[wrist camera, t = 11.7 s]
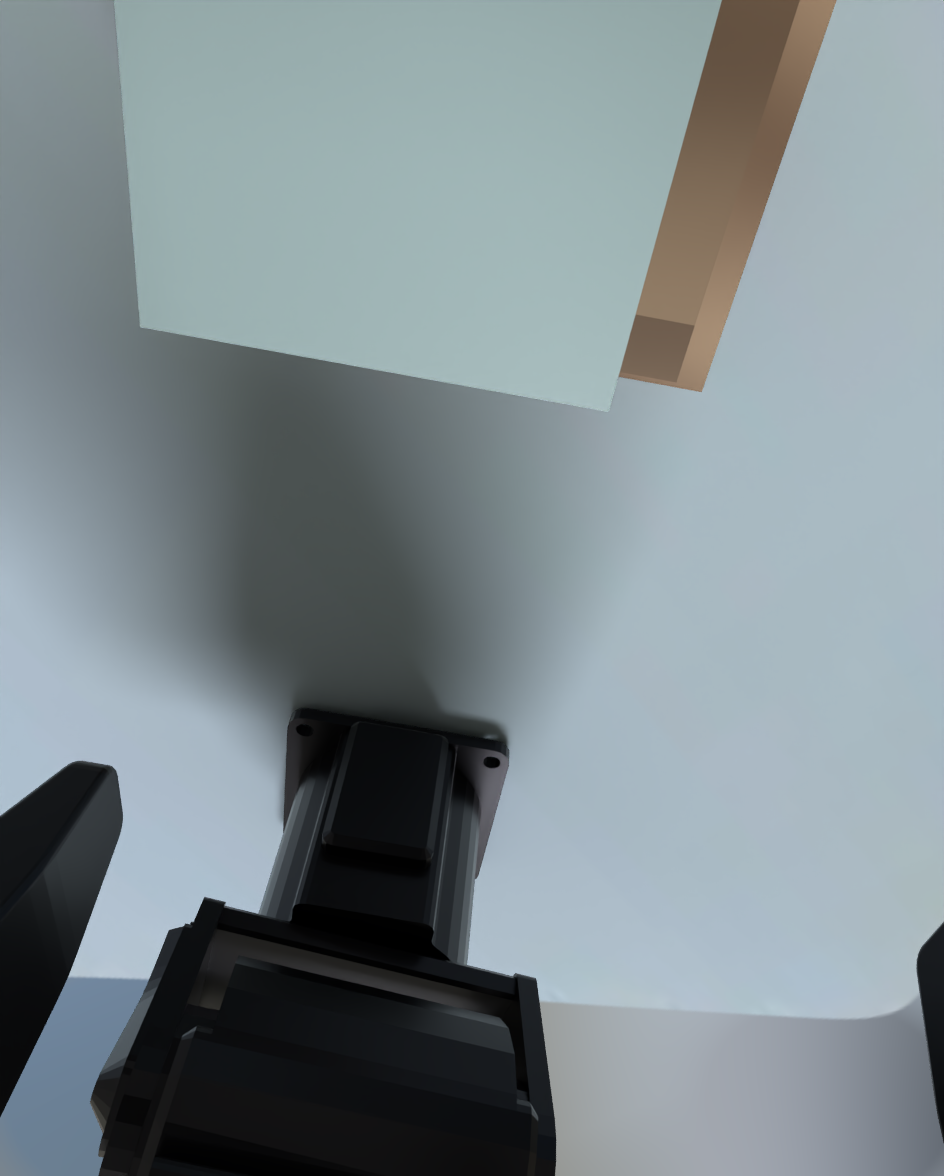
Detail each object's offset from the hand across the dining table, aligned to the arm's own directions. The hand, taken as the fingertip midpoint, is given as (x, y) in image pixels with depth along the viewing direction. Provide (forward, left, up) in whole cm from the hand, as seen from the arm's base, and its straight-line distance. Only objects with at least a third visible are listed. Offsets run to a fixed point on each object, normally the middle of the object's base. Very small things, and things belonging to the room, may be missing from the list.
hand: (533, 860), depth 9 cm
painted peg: (+6, +2, -11) cm, 13 cm away
